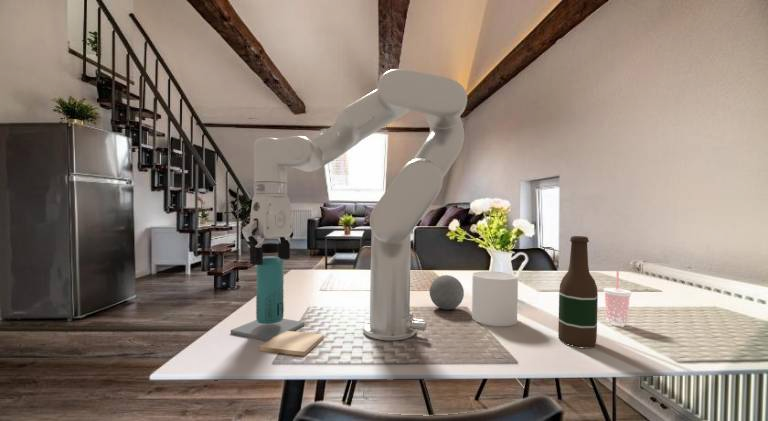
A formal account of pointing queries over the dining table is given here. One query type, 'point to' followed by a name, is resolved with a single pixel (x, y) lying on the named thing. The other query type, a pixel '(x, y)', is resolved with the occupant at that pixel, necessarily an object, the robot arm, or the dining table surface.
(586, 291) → the beer bottle
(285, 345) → the light wooden coaster
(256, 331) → the slate coaster
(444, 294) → the decorative ball
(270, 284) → the beverage bottle
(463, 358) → the dining table surface
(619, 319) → the beverage cup
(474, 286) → the cup
